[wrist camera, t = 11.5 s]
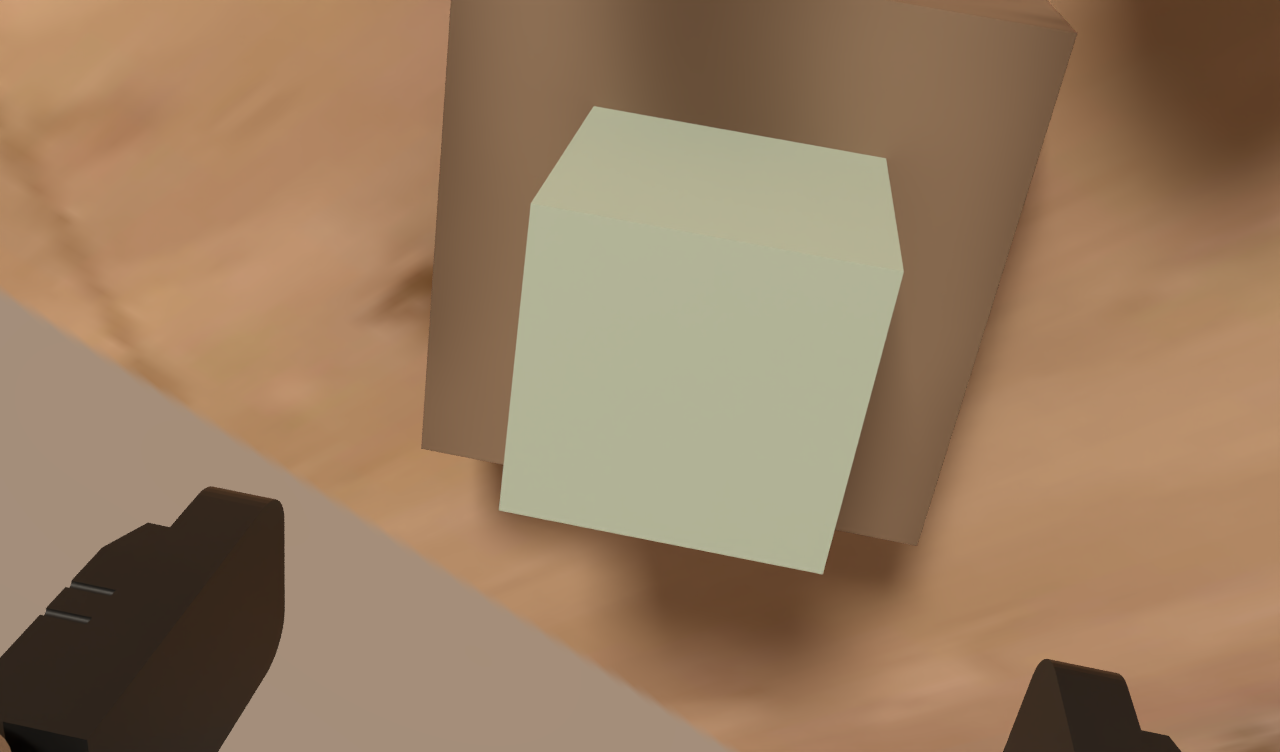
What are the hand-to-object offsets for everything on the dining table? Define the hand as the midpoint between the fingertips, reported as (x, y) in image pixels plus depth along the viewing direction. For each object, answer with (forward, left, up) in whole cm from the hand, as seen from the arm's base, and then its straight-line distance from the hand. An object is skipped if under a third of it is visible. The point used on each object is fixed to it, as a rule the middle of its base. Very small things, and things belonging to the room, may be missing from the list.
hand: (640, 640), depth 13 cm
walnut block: (0, 0, -14) cm, 14 cm away
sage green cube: (0, 0, -10) cm, 10 cm away
